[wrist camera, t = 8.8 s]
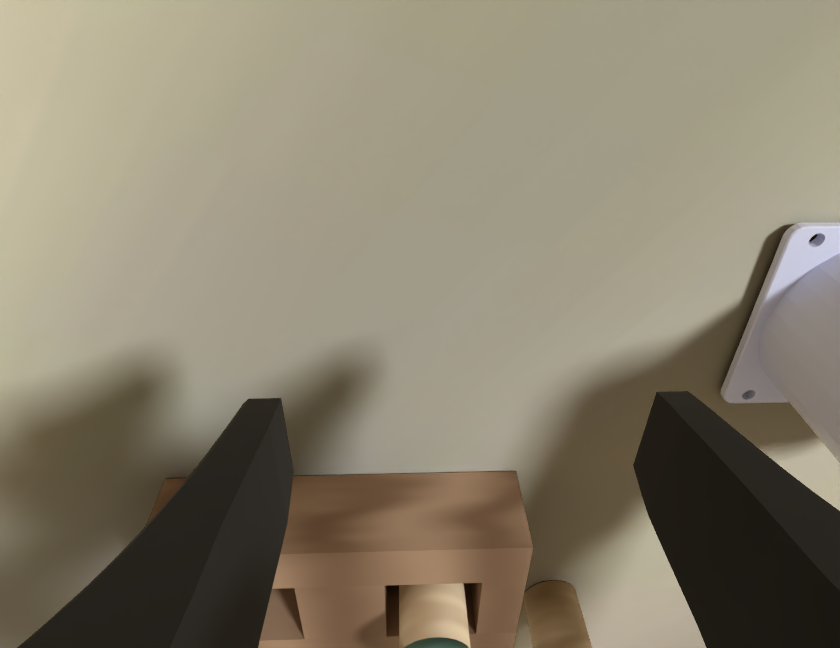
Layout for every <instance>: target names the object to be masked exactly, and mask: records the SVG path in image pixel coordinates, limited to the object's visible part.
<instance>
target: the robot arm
mask: <svg viewBox="0 0 840 648" xmlns="http://www.w3.org/2000/svg"><path fill="white" fill-rule="evenodd" d="M815 234H818V235H817V237H816V238H815V239H814V240H812V241H810V242H809V240H810V239H811V237H812V236H814V235H815ZM748 390H749V391H748ZM746 391H747V392H746ZM744 392H746V393H744ZM721 395H722V397H723V398H724V400H725V401H726V402H728V403H782V402H789V403H790V404H791V405H792V406H793V407H794V409H795V410H796V411H797V412H798V413H799V415H800V416H801V417H802V418H803V419H804V421H805V422H806V423H807V424H808V425H809V426H810V428H811V429H812V430H813V431H814V432H815V434H816V435H817V436H818V437H819V438H820V440H821V441H822V442H823V443H824V444H825V446H826V447H827V448H828V449H829V450H830V452H831V453H832V454H833V455H834V456H835V458H836V459H837V460H838V461H839V462H840V222H816V223H797V224H795V225H793V226H791V227H790V228H789V229H787V230H786V231H785V233H784V235H783V237H782V239H781V241H780V244H779V246H778V249H777V251H776V254H775V256H774V259H773V261H772V264H771V266H770V269H769V271H768V274H767V276H766V279H765V281H764V284H763V286H762V289H761V291H760V294H759V296H758V299H757V301H756V304H755V306H754V309H753V311H752V314H751V316H750V319H749V321H748V324H747V326H746V329H745V331H744V334H743V336H742V339H741V341H740V344H739V346H738V349H737V351H736V354H735V356H734V359H733V361H732V364H731V366H730V369H729V371H728V374H727V376H726V378H725V381H724V383H723V386H722V388H721ZM634 469H635V473H636V476H637V480H638V483H639V487H640V490H641V494H642V497H643V500H644V503H645V506H646V509H647V513H648V515H649V518H650V520H651V522H652V525H653V527H654V529H655V532H656V534H657V536H658V538H659V541H660V543H661V545H662V547H663V550H664V552H665V554H666V556H667V559H668V561H669V563H670V565H671V567H672V570H673V572H674V574H675V576H676V579H677V581H678V583H679V585H680V587H681V590H682V592H683V594H684V596H685V599H686V601H687V603H688V605H689V607H690V610H691V612H692V614H693V616H694V619H695V621H696V623H697V625H698V628H699V630H700V633H701V635H702V638H703V640H704V642H705V645H706V647H707V648H840V511H839V510H837V509H836V508H835V507H833V506H832V505H831V504H829V503H828V502H826V501H825V500H824V499H822V498H821V497H820V496H818V495H817V494H815V493H814V492H813V491H811V490H810V489H809V488H808V487H806V486H805V485H804V484H802V483H801V482H800V481H798V480H797V479H796V478H794V477H793V476H792V475H791V474H789V473H788V472H787V471H786V470H784V469H783V468H782V467H780V466H779V465H778V464H777V463H776V462H774V461H773V460H772V459H771V458H769V457H768V456H767V455H766V454H764V453H763V452H762V451H761V450H759V449H758V448H757V447H756V446H754V445H753V444H752V443H751V442H750V441H748V440H747V439H746V438H745V437H744V436H742V435H741V434H740V433H739V432H738V431H736V430H735V429H734V428H733V427H731V426H730V425H729V424H728V423H727V422H725V421H724V420H723V419H722V418H721V417H719V416H718V415H717V414H716V413H715V412H713V411H712V410H711V409H710V408H708V407H707V406H706V405H705V404H704V403H702V402H701V401H700V400H698V399H697V398H696V397H695V396H693V395H692V394H691V393H689V392H688V391H683V392H657V393H656V396H655V399H654V402H653V405H652V408H651V412H650V415H649V418H648V421H647V424H646V427H645V430H644V434H643V437H642V440H641V443H640V446H639V449H638V452H637V455H636V459H635V462H634ZM292 481H293V467H292V461H291V455H290V449H289V443H288V437H287V431H286V425H285V419H284V413H283V407H282V401H281V398H269V399H248V400H247V401H246V402H245V403H244V404H243V405H242V406H241V408H240V409H239V411H238V412H237V413H236V415H235V416H234V418H233V419H232V420H231V422H230V423H229V425H228V426H227V427H226V429H225V430H224V431H223V433H222V434H221V436H220V437H219V438H218V440H217V441H216V442H215V444H214V445H213V446H212V448H211V449H210V450H209V451H208V453H207V454H206V455H205V457H204V458H203V459H202V460H201V462H200V463H199V464H198V465H197V467H196V468H195V469H194V470H193V472H192V473H191V474H190V475H189V477H188V478H187V479H186V480H185V482H184V483H183V484H182V485H181V487H180V488H179V489H178V490H177V491H176V493H175V494H174V495H173V496H172V497H171V498H170V500H169V501H168V502H167V503H166V504H165V505H164V506H163V507H162V509H161V510H160V511H159V512H158V513H157V514H156V515H155V516H154V518H153V519H152V520H151V521H150V522H149V523H148V524H147V526H146V527H145V528H144V529H143V530H142V531H141V532H140V533H139V534H138V535H137V536H136V538H135V539H134V540H133V541H132V542H131V543H130V544H129V545H128V546H127V547H126V548H125V549H124V550H123V551H122V552H121V553H120V554H119V555H118V556H117V557H116V558H115V559H114V560H113V561H112V562H111V563H110V564H109V565H108V566H107V567H106V568H105V569H104V570H103V571H102V572H101V573H100V574H99V575H98V576H97V577H96V578H95V579H94V580H93V581H92V582H91V583H90V584H89V585H88V586H86V587H85V588H84V589H83V590H82V591H81V592H80V593H79V594H78V595H77V596H75V597H74V598H73V599H72V600H71V601H70V602H69V603H68V604H67V605H66V606H65V607H63V608H62V609H61V610H60V611H59V612H58V613H57V614H56V615H55V616H54V617H52V618H51V619H50V620H49V621H48V622H47V623H46V624H44V625H43V626H42V627H41V628H40V629H39V630H38V631H36V632H35V633H34V634H33V635H32V636H31V637H29V638H28V639H27V640H26V641H25V642H23V643H22V644H21V645H20V646H19V647H17V648H258V646H259V641H260V637H261V632H262V628H263V624H264V620H265V616H266V612H267V607H268V603H269V599H270V595H271V591H272V587H273V582H274V578H275V574H276V570H277V566H278V562H279V557H280V553H281V549H282V545H283V540H284V536H285V532H286V527H287V523H288V515H289V507H290V499H291V490H292Z"/></svg>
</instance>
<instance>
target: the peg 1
mask: <svg viewBox="0 0 840 648" xmlns="http://www.w3.org/2000/svg"><path fill="white" fill-rule="evenodd" d="M399 648H471V647H470V638H469V628H468V619H467V609H466V600H465V591H464V583H456V584H421V585H399Z"/></svg>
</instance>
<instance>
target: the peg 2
mask: <svg viewBox="0 0 840 648" xmlns="http://www.w3.org/2000/svg"><path fill="white" fill-rule="evenodd" d="M523 602H524V606H525V611H526V616H527V621H528V626H529V630H530V635H531V640H532V645H533V648H592V646H591V642H590V639H589V635H588V632H587V628H586V625H585V622H584V618H583V615H582V611H581V608H580V604H579V601H578V598H577V594H576V591H575V588H574V587H573V586H572V585H571V584H569V583H567V582H563V581H546V582H542V583H539V584H536V585H534V586H532V587H531V588H529V589H528V590H527V591H526V592H525V594H524V597H523Z"/></svg>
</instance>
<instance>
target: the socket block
mask: <svg viewBox="0 0 840 648" xmlns="http://www.w3.org/2000/svg"><path fill="white" fill-rule="evenodd" d="M186 479H187V478H178V479H165V481H164V484H163V486H162V488H161V491H160V493H159V496H158V498H157V500H156V503H155V505H154V507H153V510H152V512H151V515H150V517H149V519H148V522H147V524H148V523H149V522H150V521H151V520H152V519H153V518H154V516H155V515H156V514H157V513H158V512H159V511H160V510H161V509H162V507H163V506H164V505H165V504H166V503H167V502H168V501H169V500H170V498H171V497H172V496H173V495H174V494H175V493H176V491H177V490H178V489H179V488H180V487H181V485H182V484H183V483H184V482H185V480H186ZM147 524H146V526H147ZM532 552H533V544H532V539H531V535H530V531H529V526H528V522H527V517H526V513H525V508H524V504H523V499H522V495H521V491H520V486H519V482H518V477H517V473H516V471H500V472H454V473H408V474H362V475H316V476H293V481H292V490H291V499H290V507H289V515H288V523H287V527H286V532H285V536H284V540H283V545H282V549H281V553H280V557H279V562H278V566H277V570H276V574H275V578H274V582H273V587H272V591H271V595H270V599H269V603H268V607H267V612H266V616H265V620H264V624H263V628H262V632H261V637H260V641H259V646H258V648H399V585H421V584H456V583H464V591H465V600H466V609H467V619H468V628H469V638H470V647H471V648H513V647H514V642H515V637H516V632H517V627H518V622H519V617H520V612H521V607H522V602H523V597H524V592H525V587H526V582H527V577H528V572H529V567H530V562H531V557H532Z"/></svg>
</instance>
